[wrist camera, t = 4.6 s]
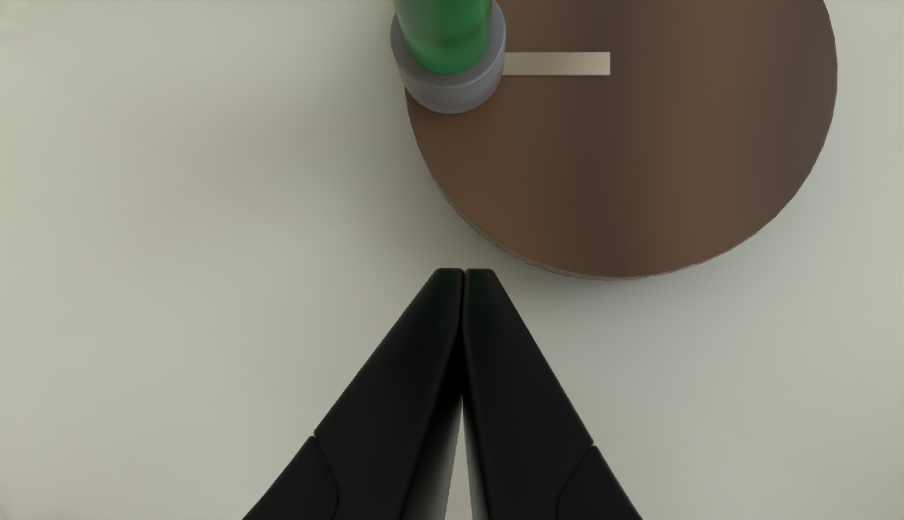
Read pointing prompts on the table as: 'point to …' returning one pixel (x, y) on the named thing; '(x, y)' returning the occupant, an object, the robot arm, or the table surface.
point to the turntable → (617, 122)
